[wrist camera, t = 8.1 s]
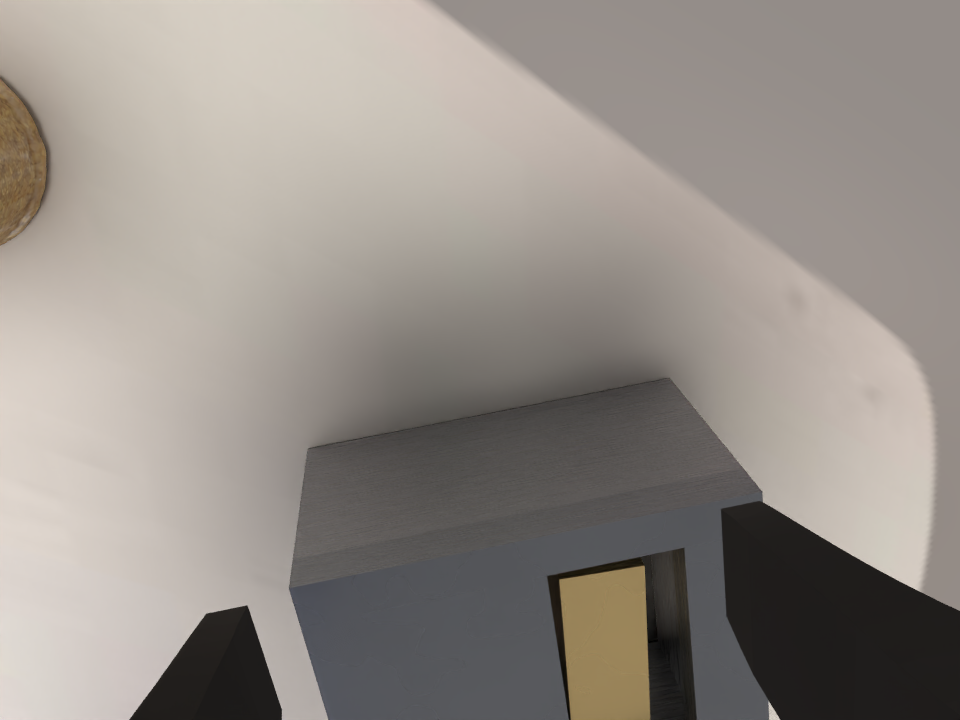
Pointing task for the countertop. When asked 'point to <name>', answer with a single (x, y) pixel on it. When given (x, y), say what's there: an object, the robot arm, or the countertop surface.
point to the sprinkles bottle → (18, 165)
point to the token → (603, 640)
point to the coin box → (516, 557)
